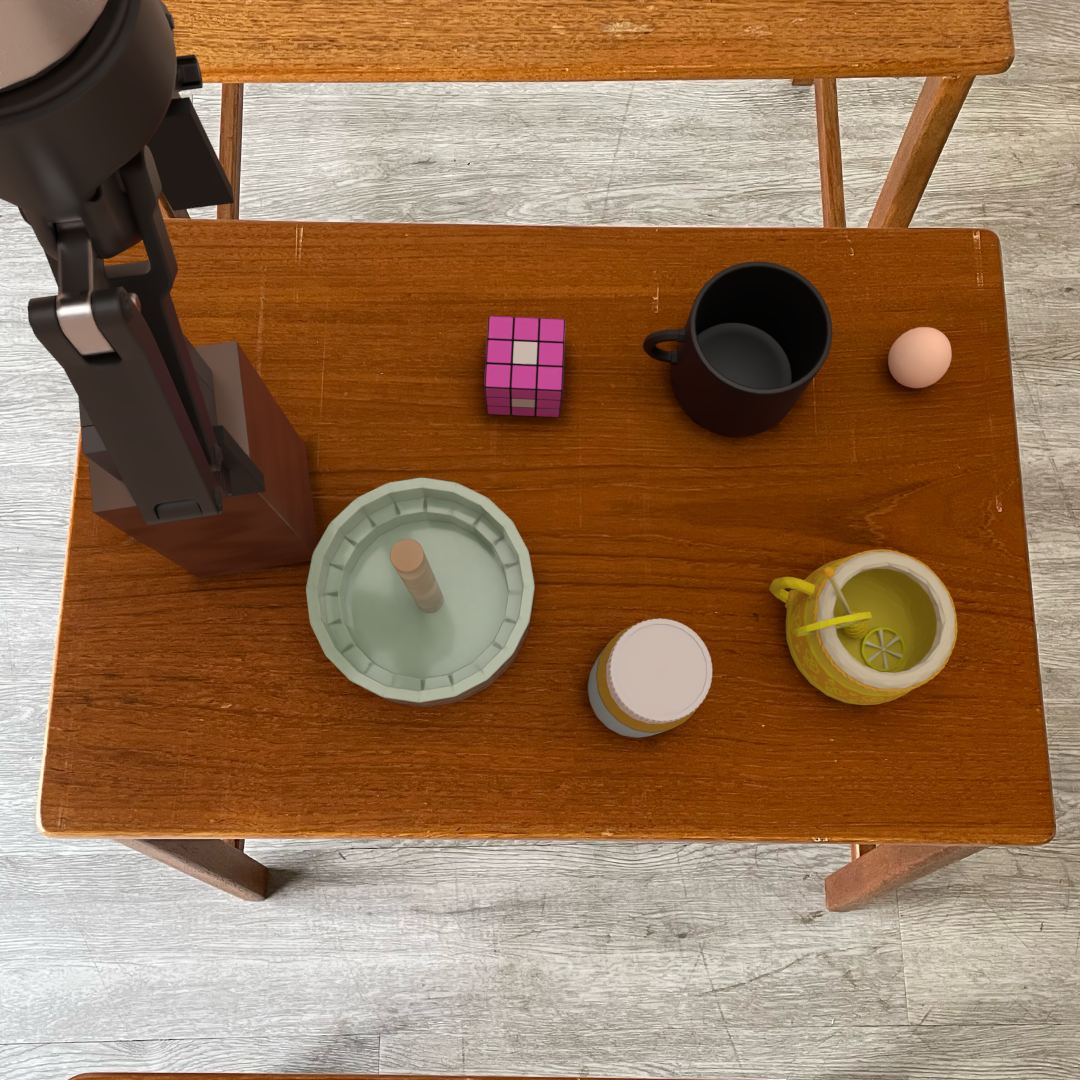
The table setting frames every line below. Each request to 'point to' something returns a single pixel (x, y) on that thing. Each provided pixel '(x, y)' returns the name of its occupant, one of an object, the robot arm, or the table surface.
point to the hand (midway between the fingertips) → (217, 339)
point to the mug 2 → (869, 625)
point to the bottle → (650, 678)
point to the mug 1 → (747, 347)
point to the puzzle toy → (524, 366)
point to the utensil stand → (246, 520)
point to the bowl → (389, 609)
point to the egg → (919, 357)
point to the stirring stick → (416, 574)
